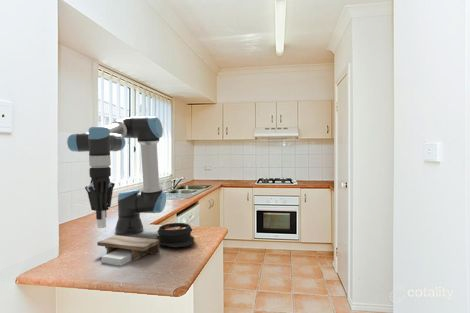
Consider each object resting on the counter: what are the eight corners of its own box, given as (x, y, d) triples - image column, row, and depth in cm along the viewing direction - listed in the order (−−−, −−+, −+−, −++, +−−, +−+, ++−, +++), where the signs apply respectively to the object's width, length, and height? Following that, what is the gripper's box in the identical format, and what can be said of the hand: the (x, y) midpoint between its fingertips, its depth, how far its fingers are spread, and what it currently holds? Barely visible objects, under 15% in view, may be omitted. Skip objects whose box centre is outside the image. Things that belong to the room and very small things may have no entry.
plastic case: (125, 252, 134) (125, 246, 134) (143, 255, 130) (143, 248, 130) (101, 263, 120) (101, 256, 120) (121, 266, 117) (120, 259, 117)
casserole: (148, 240, 151) (148, 223, 151) (182, 234, 161) (182, 219, 161) (165, 254, 130) (165, 235, 130) (203, 246, 140) (203, 228, 140)
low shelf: (115, 248, 139) (115, 235, 139) (159, 253, 131) (159, 239, 131) (97, 255, 128) (97, 242, 128) (143, 261, 120) (143, 247, 120)
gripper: (104, 165, 122) (106, 222, 122) (78, 167, 109) (80, 230, 110) (119, 165, 119) (121, 223, 120) (94, 168, 107) (96, 232, 108)
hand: (101, 227), depth 115 cm, fingers closed
